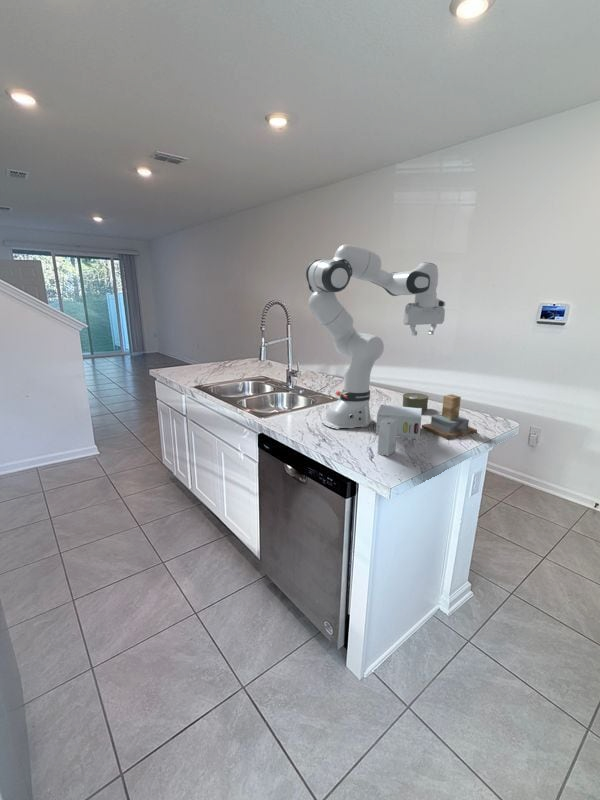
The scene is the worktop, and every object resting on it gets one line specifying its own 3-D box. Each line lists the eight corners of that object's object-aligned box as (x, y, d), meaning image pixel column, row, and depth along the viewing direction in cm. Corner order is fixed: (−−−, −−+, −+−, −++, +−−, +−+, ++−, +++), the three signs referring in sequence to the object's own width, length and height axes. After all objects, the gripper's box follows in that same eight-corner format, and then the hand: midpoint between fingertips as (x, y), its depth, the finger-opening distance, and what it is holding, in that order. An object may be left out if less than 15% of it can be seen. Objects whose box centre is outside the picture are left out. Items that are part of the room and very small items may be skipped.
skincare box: (384, 448, 133) (386, 416, 130) (396, 451, 130) (398, 419, 127) (376, 453, 129) (378, 421, 126) (388, 457, 126) (390, 423, 123)
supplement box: (375, 434, 148) (376, 412, 145) (379, 424, 160) (380, 403, 157) (419, 439, 142) (421, 416, 140) (420, 428, 154) (422, 407, 152)
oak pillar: (450, 419, 147) (452, 398, 144) (441, 416, 151) (443, 395, 148) (458, 418, 148) (460, 396, 146) (449, 415, 152) (452, 394, 150)
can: (431, 409, 182) (432, 395, 180) (421, 414, 173) (422, 400, 171) (408, 404, 189) (409, 391, 187) (397, 409, 180) (398, 396, 178)
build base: (446, 439, 142) (448, 425, 140) (421, 428, 154) (422, 415, 153) (476, 433, 148) (478, 419, 146) (450, 423, 160) (451, 410, 159)
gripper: (411, 302, 152) (408, 336, 156) (448, 302, 160) (445, 334, 164) (401, 302, 158) (399, 335, 162) (437, 302, 166) (435, 333, 169)
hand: (422, 334), depth 163 cm, fingers open, 8 cm apart
